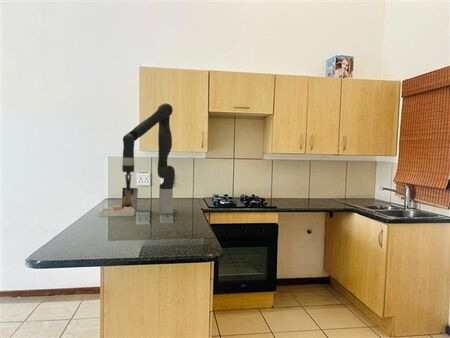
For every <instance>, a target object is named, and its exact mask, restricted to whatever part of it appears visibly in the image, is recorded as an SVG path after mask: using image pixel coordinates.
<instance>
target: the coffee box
mask: <svg viewBox="0 0 450 338" xmlns="http://www.w3.org/2000/svg"><path fill="white" fill-rule="evenodd" d="M121 189H122V192H121V193H122V195H121V197H122V198H121V206H122V209H123V207H132V209H134V212H135V211H137V210H138V197H139V195H138V194H139V193H138V191H139V188H138V187H130V191H127V190H126V187H122V188H121Z"/></svg>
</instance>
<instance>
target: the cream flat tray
mask: <svg viewBox="0 0 450 338" xmlns="http://www.w3.org/2000/svg"><path fill="white" fill-rule="evenodd" d="M134 216H135V211H134V209H132V210H123V209H122V210H121V211H113V208H111V211H102V208H100V209H99V217H100V218H103V217H106V218H107V217H134Z"/></svg>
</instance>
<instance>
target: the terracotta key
mask: <svg viewBox="0 0 450 338" xmlns="http://www.w3.org/2000/svg"><path fill="white" fill-rule="evenodd" d="M112 209H113V211H121V210H122V205H113V206H112Z"/></svg>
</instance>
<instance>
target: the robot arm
mask: <svg viewBox="0 0 450 338" xmlns="http://www.w3.org/2000/svg"><path fill="white" fill-rule="evenodd" d="M173 110H174V109H173V107H172V105H171V104H170V103H162V104H160V105H158V108H157V109H156V111H155V112H154V113H152V114H151V115H150V116H149V117H147V118H146V119H145V120H143V121H142V122H140V123H138V124H137V126H135V127H134V128H133V129H132V130H131V131H129V132H128V133H126V134H125V135H123V137H122V142H123V143H122V144H123V147H122V148H123V150H122V163H121V164H122V168H121V169H122V170H121V172H123V173H126V174H125V175H124V178H125V188H126V190H127V191H130V188H131V182H132V174H131V173H134V172H135V141H137V140H138V139H140V138H141V137H142V136H144V135H146V133H147V132H149V131H150V130H151V129H152V128H153V127H155V126H156V125H157V124H158V137H157V139H158V141H157V142H158V143H157V145H158V146H157V147H158V161H157V175H158V177H159V178H160V179H163V180H162V181H163V182H162V183H160V184H159V187H158V188H159V189H158V190H159V192H158V193H159V194H158V195H159V196H158V197H159V198H158V214H160V215H171V214H173V213H174V199H173V198H174V197H173V196H174V184H175V177H176V176H175V175H176V172H175V168H174V167H173V166H172V165H168V157H169V155H170V152H171V150H172V146H173V137H172V131H171V127H170V120H171V119H170V117H171V115H172V114H173V112H174V111H173Z"/></svg>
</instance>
